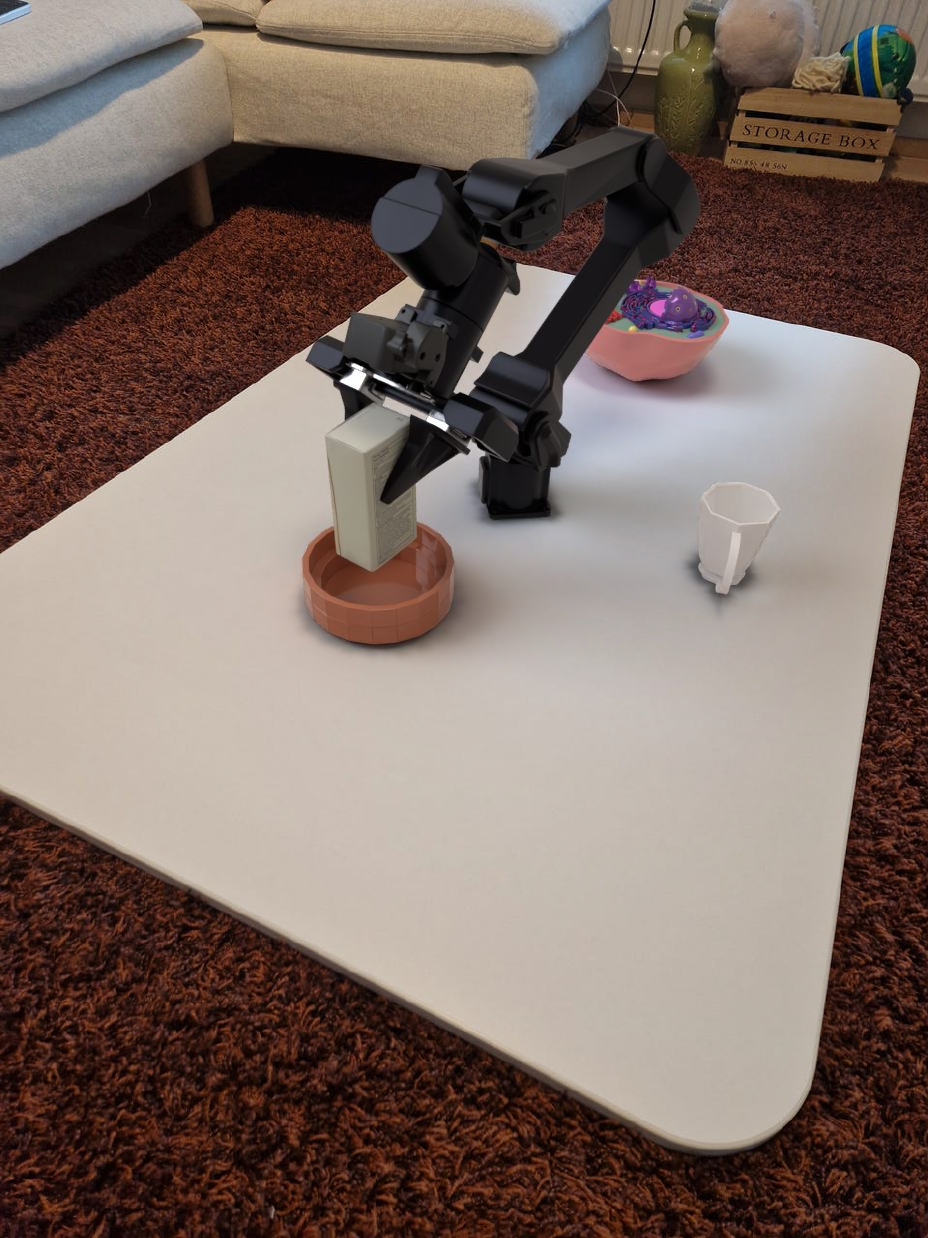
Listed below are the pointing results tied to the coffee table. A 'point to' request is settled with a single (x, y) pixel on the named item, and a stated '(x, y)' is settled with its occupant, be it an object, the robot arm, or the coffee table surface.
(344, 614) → the terracotta bowl
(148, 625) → the coffee table surface
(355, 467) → the cosmetic box
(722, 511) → the cup
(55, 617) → the coffee table surface
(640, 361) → the cell model
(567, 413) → the coffee table surface
